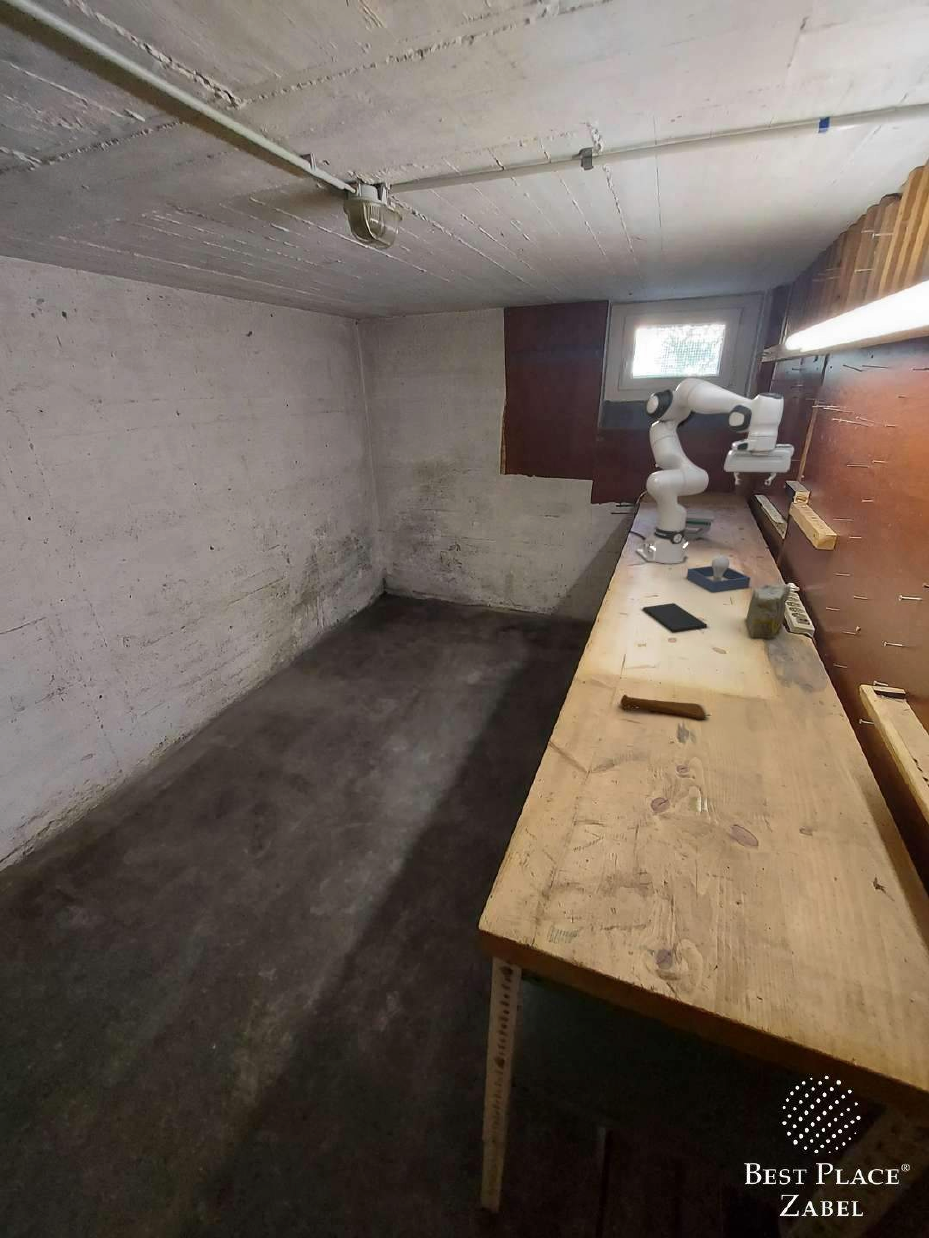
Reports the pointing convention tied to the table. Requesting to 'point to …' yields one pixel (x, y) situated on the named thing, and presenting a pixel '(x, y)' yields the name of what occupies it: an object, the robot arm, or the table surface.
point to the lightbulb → (719, 566)
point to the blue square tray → (735, 581)
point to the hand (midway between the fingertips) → (752, 484)
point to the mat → (674, 617)
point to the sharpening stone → (697, 525)
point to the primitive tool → (664, 706)
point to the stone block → (767, 610)
